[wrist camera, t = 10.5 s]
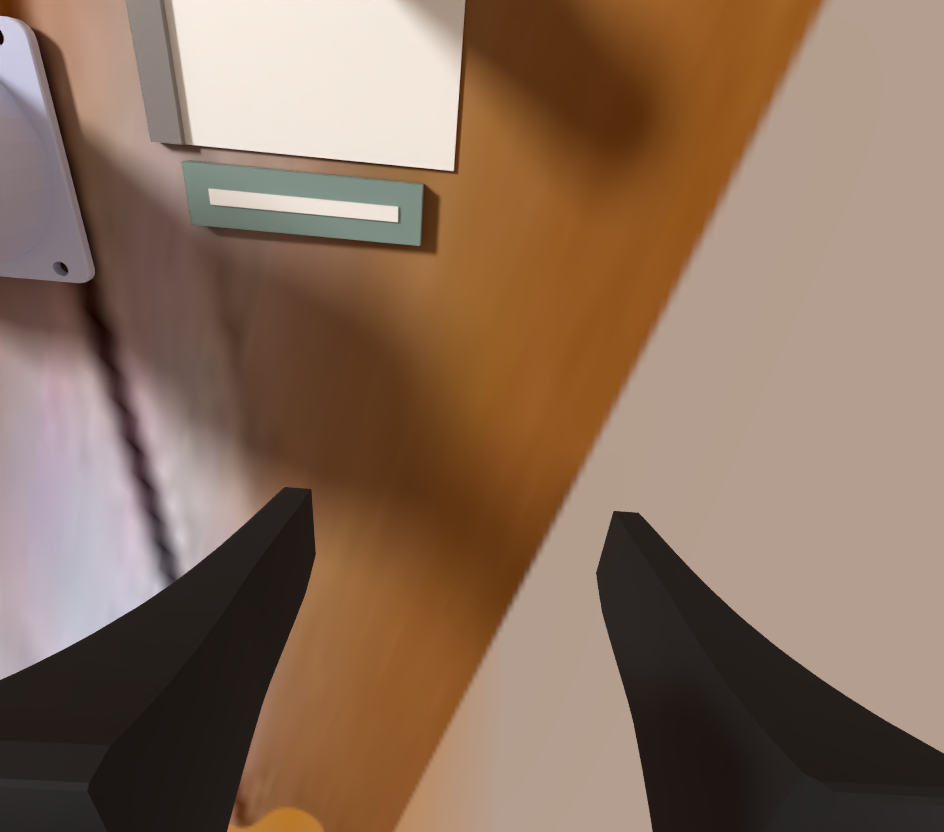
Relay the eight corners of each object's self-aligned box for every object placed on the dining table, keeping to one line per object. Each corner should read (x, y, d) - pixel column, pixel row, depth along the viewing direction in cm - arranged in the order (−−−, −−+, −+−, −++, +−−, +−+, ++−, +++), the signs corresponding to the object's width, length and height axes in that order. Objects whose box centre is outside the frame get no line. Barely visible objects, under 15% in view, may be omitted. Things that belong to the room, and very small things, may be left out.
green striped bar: (198, 221, 19) (190, 224, 19) (189, 160, 18) (180, 161, 18) (421, 242, 20) (419, 246, 19) (424, 183, 19) (422, 185, 18)
